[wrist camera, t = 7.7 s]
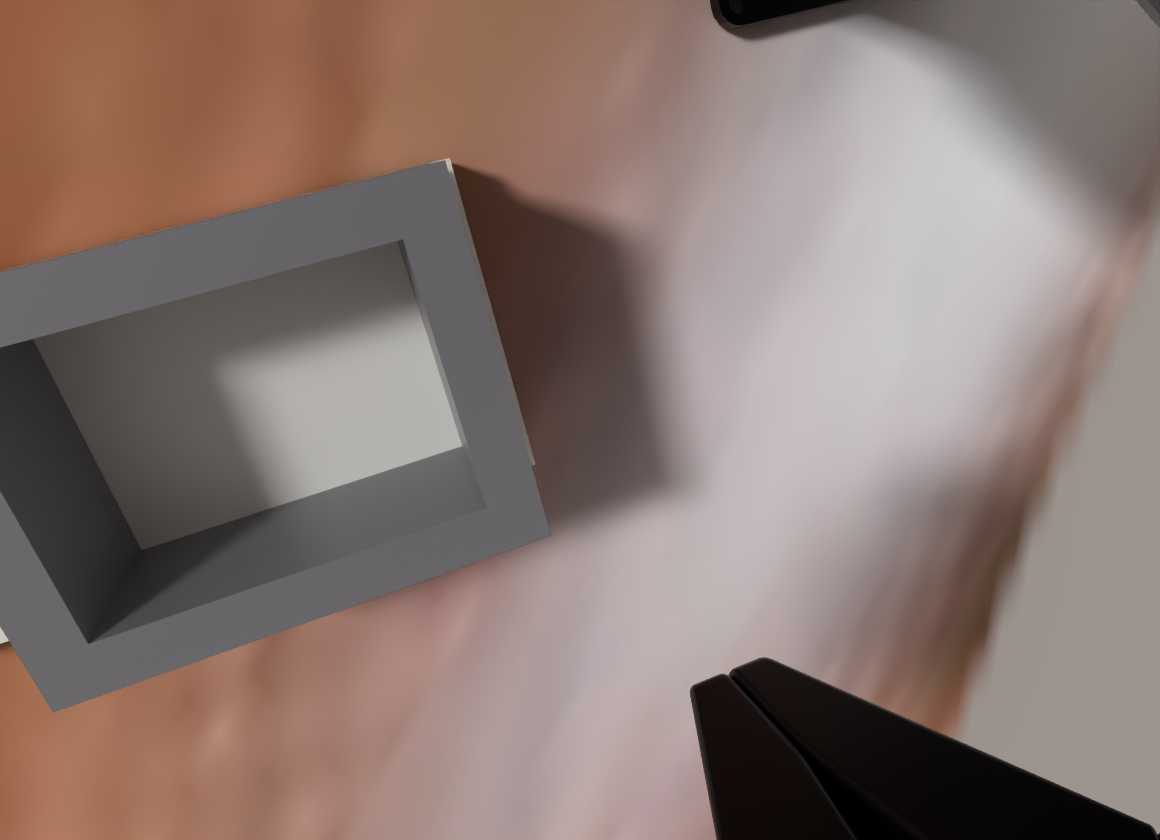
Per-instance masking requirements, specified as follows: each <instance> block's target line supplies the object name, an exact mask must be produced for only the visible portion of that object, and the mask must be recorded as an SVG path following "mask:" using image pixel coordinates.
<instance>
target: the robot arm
mask: <svg viewBox="0 0 1160 840" xmlns="http://www.w3.org/2000/svg"><path fill="white" fill-rule="evenodd" d="M849 1H853V0H741V2H742V3H741V10H740V12H739V13H735V12H734V11H733V10H732V9H731V7H730V4H729V0H710V3H711V9H712V12H713V16H714V18H715V19H716V21H717V22H718V23H719V24H720V25H721V26H723V27H725V28H727V29H735V28H739V27H743V26H748V25H752V24H756V23H760V22H765V21H769V20H773V19H777V18H781V17H786V16H790V15H794V14H798V13H803V12H807V11H811V10H815V9H820V8H824V7H828V6H832V5H836V4H841V3H845V2H849ZM1136 1H1137V2H1138V4H1139V5H1140V6H1141V7H1142V8H1143V9H1144V11H1145V12H1146V13H1147V14H1148V15H1149V17H1150V18H1151V19H1152V20H1153V21H1154V22H1155V24H1156V25H1158V26H1159V27H1160V0H1136ZM690 697H691V702H692V708H693V713H694V719H695V724H696V730H697V735H698V741H699V746H700V752H701V757H702V762H703V768H704V773H705V779H706V784H707V790H708V795H709V801H710V806H711V812H712V817H713V823H714V828H715V834H716V839H717V840H1160V833H1159V834H1158V835H1157V833H1156V831H1155V829H1154V828H1153V827H1152V826H1151V825H1149V824H1147V823H1144V822H1142V821H1140V820H1138V819H1135V818H1133V817H1131V816H1128V815H1126V814H1124V813H1122V812H1119V811H1117V810H1115V809H1113V808H1110V807H1108V806H1106V805H1103V804H1101V803H1099V802H1097V801H1094V800H1092V799H1090V798H1087V797H1085V796H1083V795H1081V794H1078V793H1076V792H1073V791H1071V790H1069V789H1067V788H1065V787H1062V786H1060V785H1058V784H1055V783H1053V782H1051V781H1049V780H1046V779H1044V778H1042V777H1040V776H1037V775H1035V774H1033V773H1030V772H1028V771H1026V770H1024V769H1021V768H1019V767H1017V766H1014V765H1012V764H1010V763H1008V762H1005V761H1003V760H1001V759H998V758H996V757H994V756H992V755H989V754H987V753H985V752H983V751H980V750H978V749H976V748H973V747H971V746H969V745H967V744H964V743H962V742H960V741H957V740H955V739H953V738H951V737H948V736H946V735H944V734H941V733H939V732H937V731H935V730H932V729H930V728H928V727H925V726H923V725H921V724H919V723H916V722H914V721H912V720H910V719H907V718H905V717H903V716H900V715H898V714H896V713H894V712H891V711H889V710H887V709H884V708H882V707H880V706H878V705H875V704H873V703H871V702H868V701H866V700H864V699H862V698H859V697H857V696H855V695H852V694H850V693H848V692H846V691H843V690H841V689H839V688H836V687H834V686H832V685H830V684H827V683H825V682H823V681H821V680H818V679H816V678H814V677H811V676H809V675H807V674H805V673H802V672H800V671H798V670H795V669H793V668H791V667H789V666H786V665H784V664H782V663H779V662H777V661H775V660H773V659H770V658H764V657H763V658H758V659H756V660H753V661H751V662H748V663H746V664H744V665H741V666H739V667H736V668H734V669H732V670H731V672H730V673H729V675H726V674H719V675H717V676H714V677H712V678H709V679H707V680H704V681H702V682H700V683H697V684H695V685H693V686H692V687H691V689H690Z"/></svg>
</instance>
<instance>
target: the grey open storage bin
mask: <svg viewBox="0 0 1160 840" xmlns="http://www.w3.org/2000/svg"><path fill="white" fill-rule="evenodd" d="M532 465H535V460H534V457H533V453H532V449H531V446H530V442H529V439H528V435H527V432H526V428H525V425H524V421H523V417H522V414H521V410H520V407H519V403H518V400H517V396H516V392H515V389H514V385H513V382H512V378H511V375H510V371H509V367H508V364H507V360H506V357H505V353H504V350H503V346H502V343H501V339H500V335H499V332H498V328H497V325H496V321H495V318H494V314H493V310H492V307H491V303H490V300H489V296H488V293H487V289H486V285H485V282H484V278H483V275H482V271H481V268H480V264H479V261H478V257H477V253H476V250H475V246H474V243H473V239H472V236H471V232H470V228H469V225H468V221H467V218H466V214H465V211H464V207H463V203H462V200H461V196H460V193H459V189H458V186H457V182H456V179H455V175H454V171H453V168H452V164H451V161H450V158H447V159H442V160H438V161H434V162H431V163H427V164H423V165H419V166H415V167H411V168H407V169H403V170H399V171H395V172H391V173H387V174H383V175H379V176H375V177H371V178H367V179H363V180H359V181H355V182H351V183H347V184H343V185H339V186H335V187H331V188H327V189H323V190H319V191H315V192H311V193H307V194H303V195H299V196H295V197H292V198H288V199H284V200H280V201H276V202H272V203H268V204H264V205H260V206H256V207H252V208H248V209H244V210H240V211H236V212H232V213H228V214H224V215H220V216H216V217H212V218H208V219H204V220H200V221H196V222H192V223H188V224H184V225H180V226H176V227H172V228H168V229H164V230H160V231H156V232H152V233H149V234H145V235H141V236H137V237H133V238H129V239H125V240H121V241H117V242H113V243H109V244H105V245H101V246H97V247H93V248H89V249H85V250H81V251H77V252H73V253H69V254H65V255H61V256H57V257H53V258H49V259H45V260H41V261H37V262H33V263H29V264H25V265H21V266H17V267H13V268H10V269H6V270H2V271H0V644H1V643H4V642H7V641H9V642H10V643H11V645H12V647H13V648H14V650H15V652H16V653H17V655H18V656H19V658H20V660H21V661H22V663H23V664H24V666H25V668H26V669H27V671H28V672H29V674H30V676H31V677H32V679H33V681H34V682H35V684H36V685H37V687H38V689H39V690H40V692H41V693H42V695H43V697H44V698H45V700H46V701H47V703H48V705H49V706H50V708H51V710H52V711H53V712H56V711H59V710H62V709H65V708H68V707H70V706H73V705H76V704H79V703H82V702H84V701H87V700H90V699H93V698H96V697H99V696H101V695H104V694H107V693H110V692H113V691H115V690H118V689H121V688H124V687H127V686H129V685H132V684H135V683H138V682H141V681H144V680H146V679H149V678H152V677H155V676H158V675H160V674H163V673H166V672H169V671H172V670H175V669H177V668H180V667H183V666H186V665H189V664H191V663H194V662H197V661H200V660H203V659H205V658H208V657H211V656H214V655H217V654H220V653H222V652H225V651H228V650H231V649H234V648H236V647H239V646H242V645H245V644H248V643H251V642H253V641H256V640H259V639H262V638H265V637H267V636H270V635H273V634H276V633H279V632H281V631H284V630H287V629H290V628H293V627H296V626H298V625H301V624H304V623H307V622H310V621H312V620H315V619H318V618H321V617H324V616H327V615H329V614H332V613H335V612H338V611H341V610H343V609H346V608H349V607H352V606H355V605H357V604H360V603H363V602H366V601H369V600H372V599H374V598H377V597H380V596H383V595H386V594H388V593H391V592H394V591H397V590H400V589H403V588H405V587H408V586H411V585H414V584H417V583H419V582H422V581H425V580H428V579H431V578H433V577H436V576H439V575H442V574H445V573H448V572H450V571H453V570H456V569H459V568H462V567H464V566H467V565H470V564H473V563H476V562H479V561H481V560H484V559H487V558H490V557H493V556H495V555H498V554H501V553H504V552H507V551H509V550H512V549H515V548H518V547H521V546H524V545H526V544H529V543H532V542H535V541H538V540H540V539H543V538H546V537H549V536H551V533H550V529H549V526H548V522H547V518H546V515H545V511H544V508H543V504H542V501H541V497H540V494H539V490H538V487H537V483H536V480H535V476H534V472H533V469H532Z"/></svg>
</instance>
